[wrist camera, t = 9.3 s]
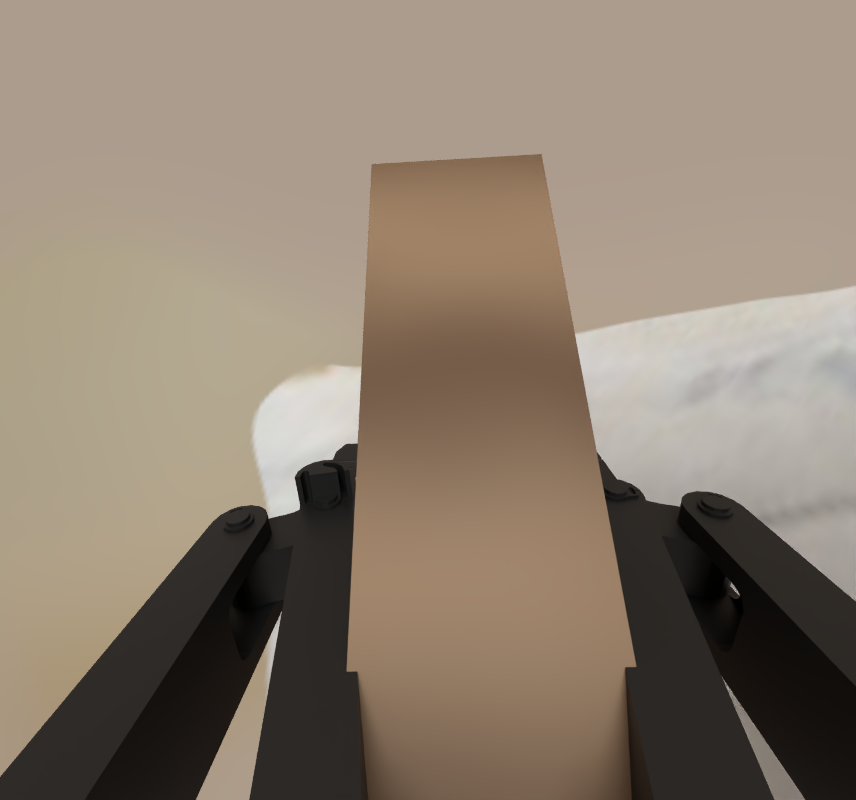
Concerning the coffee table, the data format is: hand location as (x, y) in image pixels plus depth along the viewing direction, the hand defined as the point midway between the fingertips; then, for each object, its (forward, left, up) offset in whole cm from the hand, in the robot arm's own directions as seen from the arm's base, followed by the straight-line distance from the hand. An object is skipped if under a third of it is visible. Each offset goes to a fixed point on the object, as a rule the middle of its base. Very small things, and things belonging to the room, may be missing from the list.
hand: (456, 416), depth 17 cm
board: (-3, +2, -3) cm, 5 cm away
